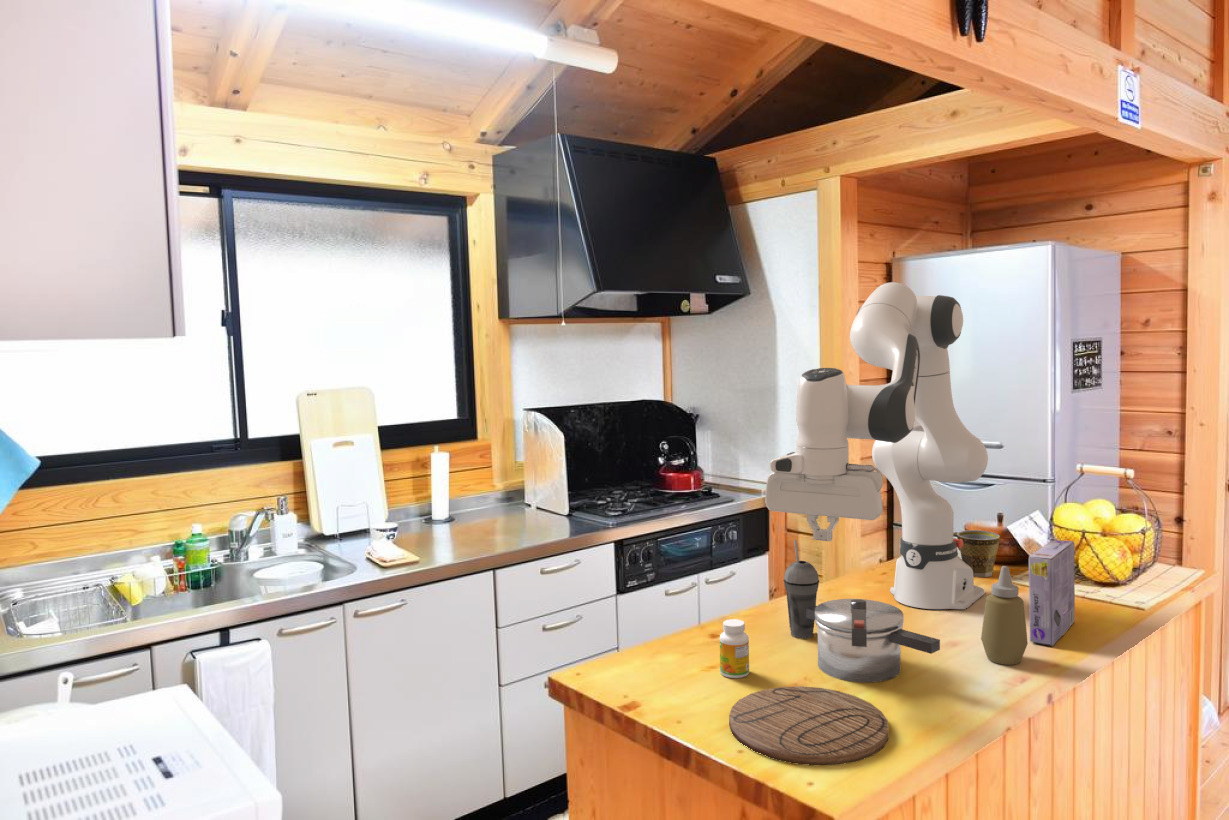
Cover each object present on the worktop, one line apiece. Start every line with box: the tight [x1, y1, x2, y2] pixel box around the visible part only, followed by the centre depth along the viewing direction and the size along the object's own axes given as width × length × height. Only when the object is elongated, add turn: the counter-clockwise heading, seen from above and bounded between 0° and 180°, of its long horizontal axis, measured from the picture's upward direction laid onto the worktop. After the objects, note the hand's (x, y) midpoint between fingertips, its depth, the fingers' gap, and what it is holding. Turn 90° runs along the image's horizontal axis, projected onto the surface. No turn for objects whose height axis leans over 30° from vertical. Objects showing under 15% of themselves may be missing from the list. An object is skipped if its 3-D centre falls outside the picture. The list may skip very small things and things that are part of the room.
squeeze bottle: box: [980, 565, 1028, 666], centre depth 168 cm, size 8×8×18 cm
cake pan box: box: [1028, 539, 1076, 647], centre depth 182 cm, size 19×5×18 cm, turn 140°
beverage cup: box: [783, 539, 820, 639], centre depth 185 cm, size 7×7×20 cm
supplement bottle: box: [719, 618, 750, 679], centre depth 166 cm, size 5×5×10 cm
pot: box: [806, 605, 941, 683], centre depth 166 cm, size 16×27×9 cm, turn 40°
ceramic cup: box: [953, 529, 1001, 578], centre depth 226 cm, size 13×10×10 cm
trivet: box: [728, 685, 889, 766], centre depth 144 cm, size 25×25×2 cm
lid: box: [815, 598, 905, 647], centre depth 162 cm, size 16×26×5 cm, turn 165°
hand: (822, 540), depth 157 cm, fingers closed
